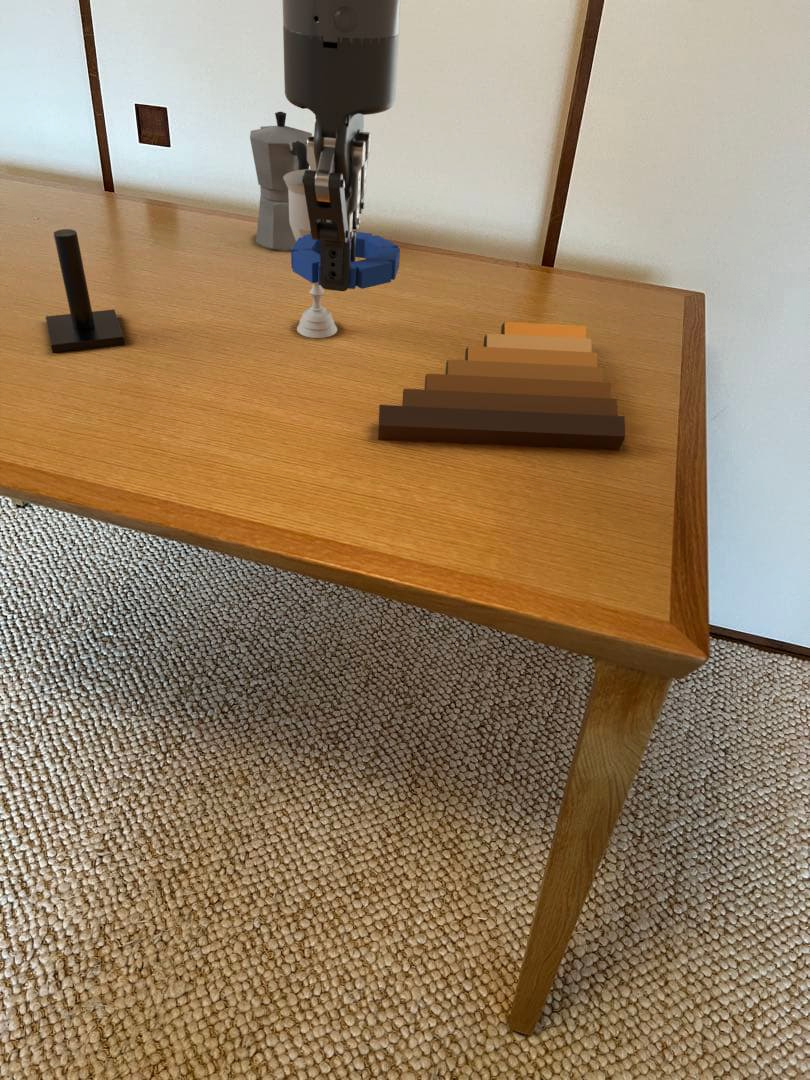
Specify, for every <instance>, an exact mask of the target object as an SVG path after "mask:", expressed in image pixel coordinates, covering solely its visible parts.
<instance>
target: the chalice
mask: <svg viewBox="0 0 810 1080" xmlns="http://www.w3.org/2000/svg"><path fill="white" fill-rule="evenodd" d="M305 170H310V168H309V169H305ZM305 170H297V171H293V172H290V173H287V174H285V175H284V176H283V178H284V181H285V183H286V185H287V187H288V195H289V222H290V226H291V229H292V232H293V234H294V237H295V240H296V241H297V240H298V238H303V236H304V235H309V234H311V228H310V222H309V216H308V210H307V203H306V197H305V191H304V184H303V182H302V178H303V175H304V172H305ZM308 292H309V294H310V295H311V298H312V305H311V306H310V307H309V308H307V309H305V310H304V312H302V314H301V318H300V320H299V324H298V325H297V327H296V331H297V333H298V334H299V335H302V336H303V337H307V338H311V339H323V338H329V337H331V336H332V337H333V336H335V334H337V332H338V326H337V325H336V323H335V320H334V318H333V316H332V313H331V312H330V311H329V310H328V309H327V308H325V307H324V306H323V305H322V295H323V294H324V293H325V291H324V290H323V288H322V286H321V285H318V282H316V283H312V286H311V289H310V290H309V291H308Z"/></svg>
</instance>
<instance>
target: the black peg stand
mask: <svg viewBox="0 0 810 1080" xmlns="http://www.w3.org/2000/svg"><path fill="white" fill-rule="evenodd" d="M53 238H54V242H55V247H56V252H57V257H58V262H59V266H60V272H61V275H62V280H63V285H64V290H65V295H66V299H67V305H68V309H69V313H66V314H56V315H47V316H45V321H46V325H47V332H48V337H49V342H50V343H49V344H50V347H51V351H52V353H54V354H55V353H63V352H72V351H80V350H89V349H97V348H106V347H114V346H124V345H126V342H125V336H124V334H123V331H122V327H121V324H120V321H119V319H118V316H117V312H116V310H115V309H104V310H95V311H94V310H92V309H93V308H92V304H91V299H90V293H89V289H88V284H87V279H86V274H85V267H84V264H83V259H82V258H83V257H82V253H81V247H80V242H79V237H78V232H77V231H76V230H75V229H69V228H64V229H57V230H55V231H54V232H53Z"/></svg>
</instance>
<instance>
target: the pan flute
mask: <svg viewBox="0 0 810 1080" xmlns="http://www.w3.org/2000/svg"><path fill="white" fill-rule="evenodd" d="M586 328H587V326H586V325H573V324H557V323H556V324H555V323H535V322H515V321H504V322H503V323H502V325H501V327H500V333H486V334H485V335H484V337H483V344H482V345H483V346H478V345H477V346H476V345H475V346H474V345H467V347H466V348H465V355H464V359H452V358H451V359H450V358H448V359H447V360H446V362H445V373H426V374H425V376H424V389H419V388H418V389H416V388H403V390H402V405H394V404H393V405H391V404H379V408H378V409H379V411H378V428H377V429H378V430H377V432H378V433H377V434H378V435H377V440H382V441H383V440H384V441H406V442H407V441H408V442H424V443H425V442H426V443H448V444H449V443H451V444H473V445H492V446H493V445H496V446H514V447H515V446H518V447H519V446H520V447H538V448H539V447H541V448H560V449H561V448H563V449H564V448H565V449H584V450H585V449H586V450H609V451H620V449H621V447H622V445H623V443H624V441H625V439H626V421H625V420H626V418H625V415H618V411H619V410H618V398H612V397H611V382H609V381H605V376H604V374H605V373H604V372H605V371H604V367H603V366H598V352H597V351H596V352H595V351H594V352H593V351H592V349H593V347H592V338H587V329H586Z"/></svg>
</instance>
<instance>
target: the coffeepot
mask: <svg viewBox="0 0 810 1080" xmlns="http://www.w3.org/2000/svg"><path fill="white" fill-rule="evenodd" d="M274 115H275V121H276V125H266V126H265V125H263V126H260V127H259V128H258V129H253V130H250V135H249V140H250V145H251V151H252V155H253V156H252V157H253V161H254V162H253V163H254V168H255V172H256V177H257V178H256V179H257V183H258V185H259V187H260V188H259V189H260V196H259V207H258V216H257V226H256V227H257V229H256V239H255V243H256V244H258V245H259V246H261V247H262V248H264V249H268V250H271V251H272V250H273V251H277V252H281V251H282V252H291V249H292V247H293V246H294V244H295V243H296V240H295V237H294V234H293V232H292V229H291V226H290V222H289V195H288V187H287V185H286V183H285V181H284V178H283V176H284V175H285V174H287V173H290V172H293V171H297V170H305V169H310V165H309V164H308V162H307V139H308V136H313V133H312V132H309V131H305V130H302V129H299V128H295V127H291V126H288V125H286V120H287V113H286V112H284V111H277V112H275V113H274Z"/></svg>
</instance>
